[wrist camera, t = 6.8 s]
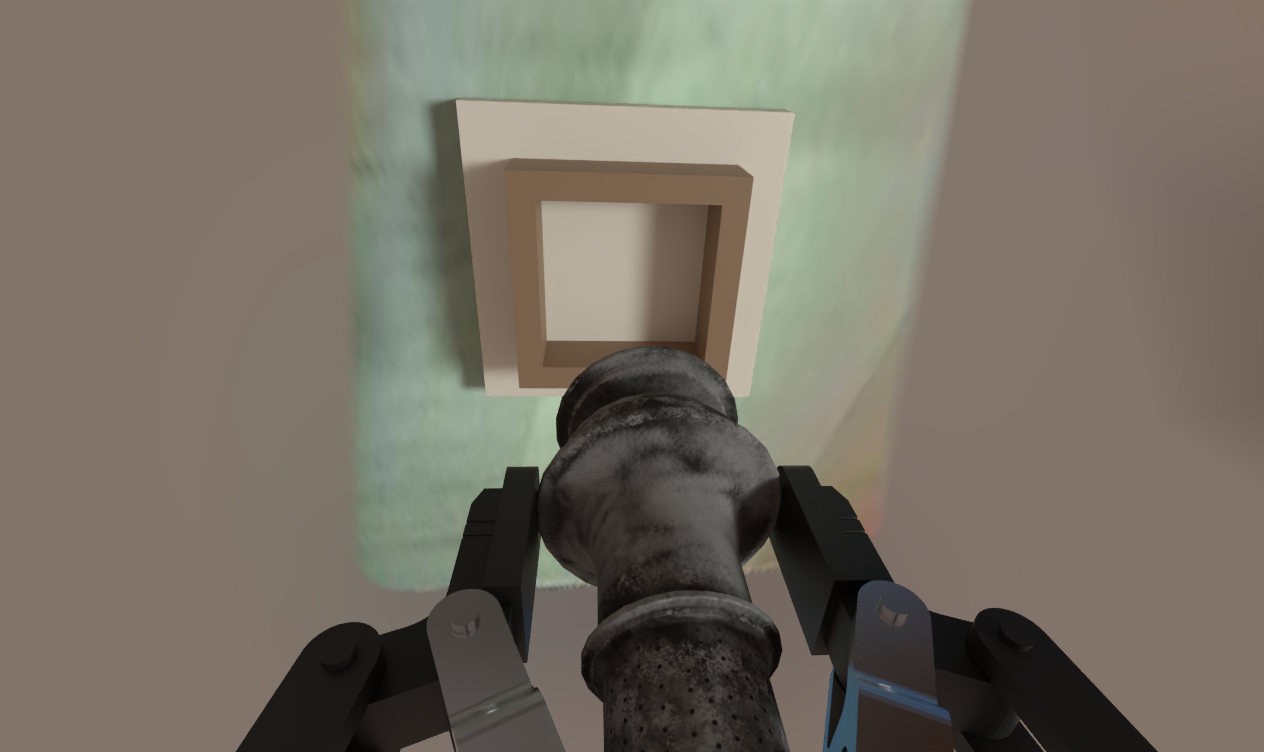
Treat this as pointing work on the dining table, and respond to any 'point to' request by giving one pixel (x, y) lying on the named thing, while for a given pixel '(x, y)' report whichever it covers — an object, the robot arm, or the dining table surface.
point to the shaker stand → (618, 233)
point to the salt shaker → (667, 552)
